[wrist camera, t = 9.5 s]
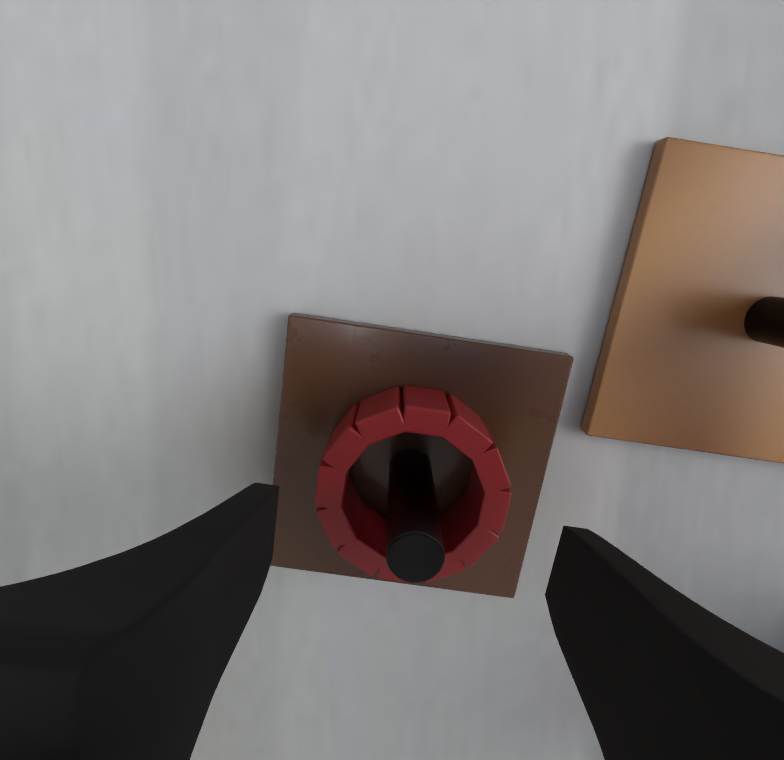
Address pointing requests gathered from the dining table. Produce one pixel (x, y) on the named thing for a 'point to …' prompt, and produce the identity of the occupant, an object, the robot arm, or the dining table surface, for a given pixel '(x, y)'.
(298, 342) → the square base plate
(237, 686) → the dining table surface
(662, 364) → the short stand
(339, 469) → the ring
